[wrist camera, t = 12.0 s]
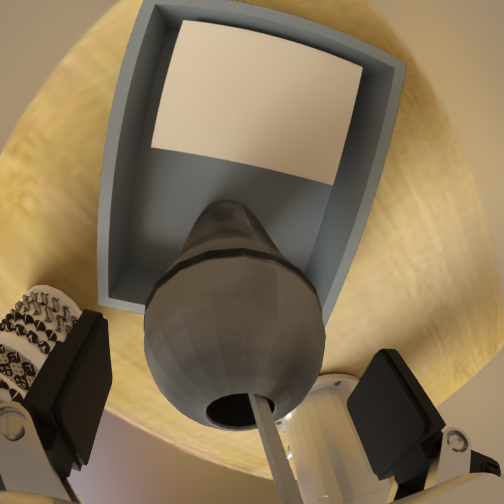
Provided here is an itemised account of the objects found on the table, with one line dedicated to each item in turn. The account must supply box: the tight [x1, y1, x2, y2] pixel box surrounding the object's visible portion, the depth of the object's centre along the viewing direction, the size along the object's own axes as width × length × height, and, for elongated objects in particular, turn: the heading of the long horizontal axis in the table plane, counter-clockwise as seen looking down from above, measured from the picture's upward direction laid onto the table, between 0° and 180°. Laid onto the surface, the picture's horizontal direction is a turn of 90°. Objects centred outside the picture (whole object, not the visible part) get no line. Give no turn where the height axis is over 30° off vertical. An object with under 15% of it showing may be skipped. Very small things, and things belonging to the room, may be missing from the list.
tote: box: [97, 0, 407, 326], centre depth 18 cm, size 20×16×6 cm
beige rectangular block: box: [151, 20, 363, 185], centre depth 16 cm, size 8×11×4 cm
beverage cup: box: [144, 200, 326, 504], centre depth 13 cm, size 7×7×20 cm
